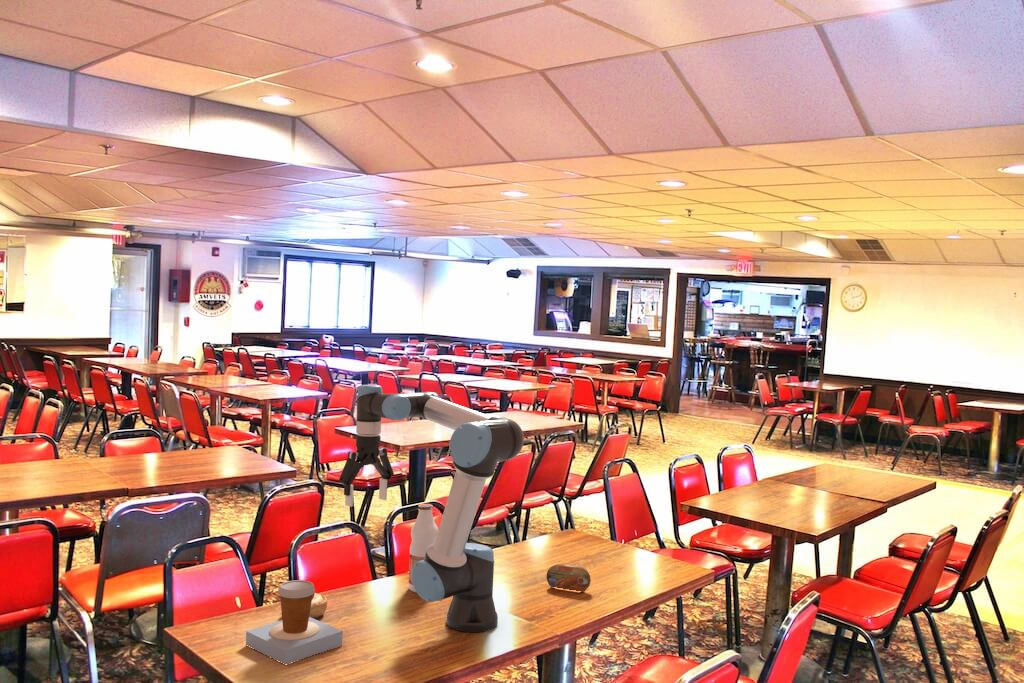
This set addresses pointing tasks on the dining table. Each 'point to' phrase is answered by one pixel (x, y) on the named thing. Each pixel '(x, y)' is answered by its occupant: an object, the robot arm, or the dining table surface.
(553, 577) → the tin
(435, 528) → the fruit juice
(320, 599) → the pastry
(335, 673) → the dining table surface
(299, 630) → the disposable coffee cup
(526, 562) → the dining table surface
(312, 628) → the serving stand
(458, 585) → the robot arm
